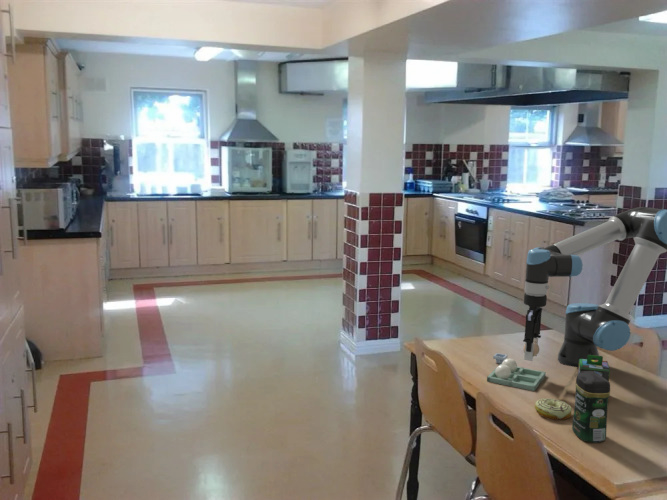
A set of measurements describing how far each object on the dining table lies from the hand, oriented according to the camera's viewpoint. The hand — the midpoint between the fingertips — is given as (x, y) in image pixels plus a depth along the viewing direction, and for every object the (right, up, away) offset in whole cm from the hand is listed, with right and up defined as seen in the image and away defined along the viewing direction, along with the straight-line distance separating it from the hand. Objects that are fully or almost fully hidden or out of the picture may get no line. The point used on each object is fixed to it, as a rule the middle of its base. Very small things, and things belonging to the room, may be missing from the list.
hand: (530, 357), depth 218 cm
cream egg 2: (-10, -8, -1) cm, 13 cm away
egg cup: (-6, -6, +17) cm, 19 cm away
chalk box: (+16, -11, -13) cm, 23 cm away
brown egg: (0, 0, 0) cm, 0 cm away
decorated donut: (-1, -13, -26) cm, 29 cm away
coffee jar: (+4, -16, -41) cm, 44 cm away
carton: (-5, -8, 0) cm, 10 cm away
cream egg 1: (-6, -7, +5) cm, 10 cm away
